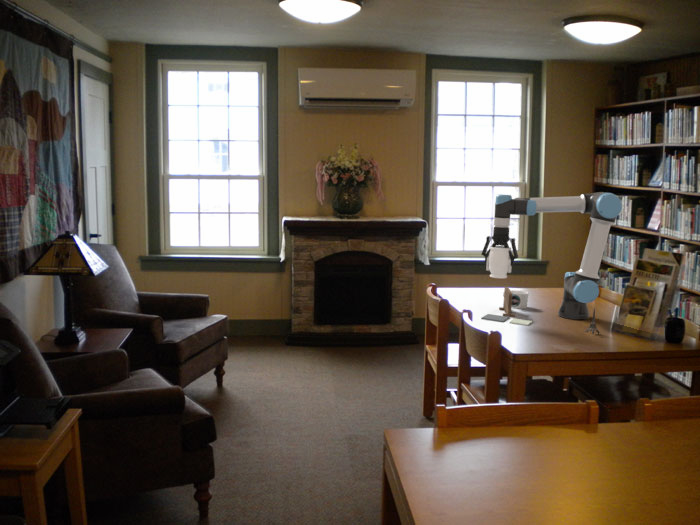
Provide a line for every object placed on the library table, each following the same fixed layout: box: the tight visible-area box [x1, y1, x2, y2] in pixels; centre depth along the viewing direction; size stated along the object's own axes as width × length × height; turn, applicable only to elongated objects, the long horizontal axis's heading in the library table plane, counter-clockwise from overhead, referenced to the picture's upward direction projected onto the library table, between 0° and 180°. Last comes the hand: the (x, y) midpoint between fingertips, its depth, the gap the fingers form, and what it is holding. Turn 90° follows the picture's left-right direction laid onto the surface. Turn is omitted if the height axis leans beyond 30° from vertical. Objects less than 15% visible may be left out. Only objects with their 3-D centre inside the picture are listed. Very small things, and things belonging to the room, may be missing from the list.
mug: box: [502, 289, 529, 310], centre depth 383 cm, size 13×10×8 cm
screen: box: [498, 286, 516, 318], centre depth 366 cm, size 6×18×12 cm, turn 175°
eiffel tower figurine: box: [584, 306, 600, 334], centre depth 328 cm, size 15×10×13 cm
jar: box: [488, 245, 512, 279], centre depth 348 cm, size 11×10×15 cm
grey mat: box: [480, 313, 510, 323], centre depth 352 cm, size 11×11×1 cm
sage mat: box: [508, 317, 533, 326], centre depth 345 cm, size 9×9×1 cm
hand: (498, 271), depth 349 cm, fingers closed on jar, 10 cm apart
